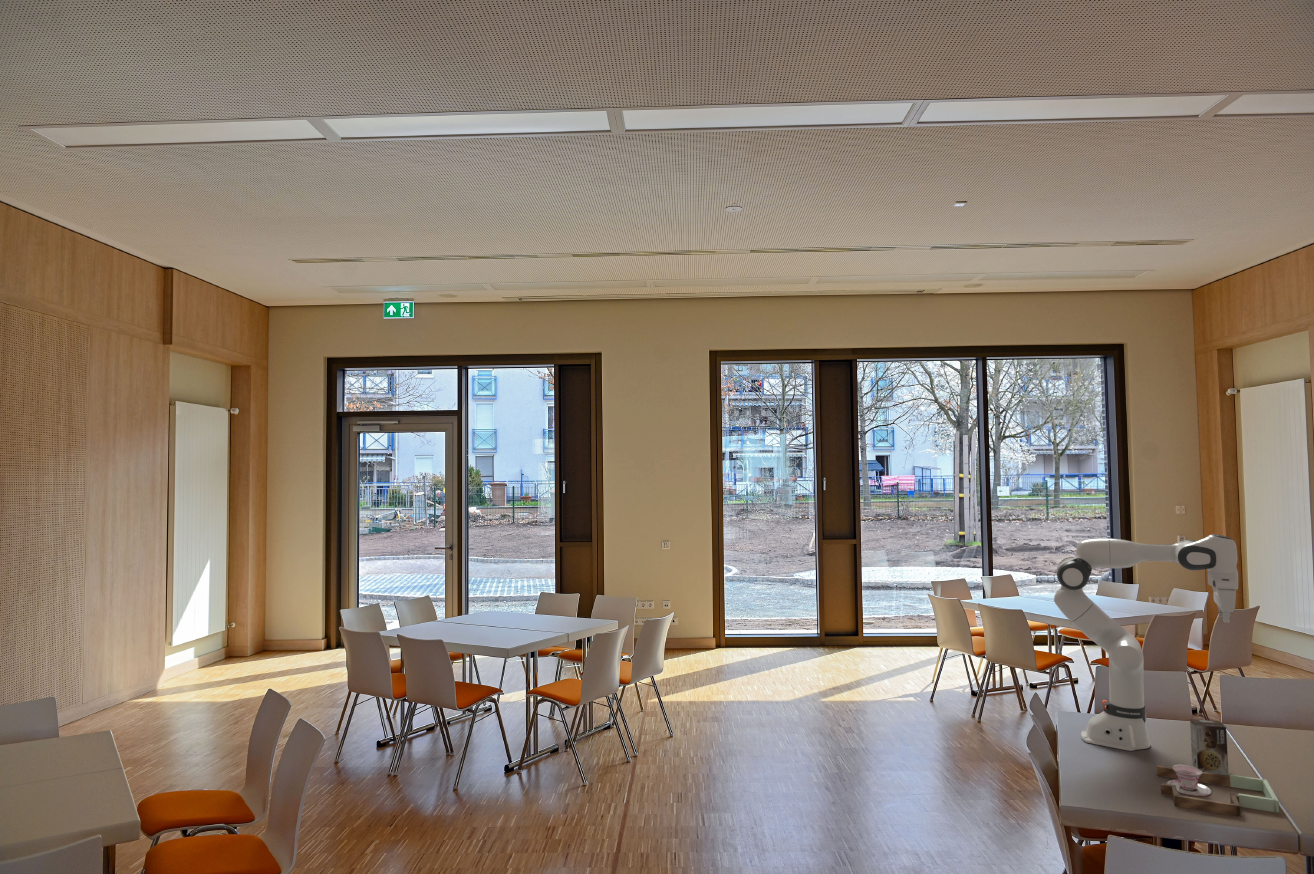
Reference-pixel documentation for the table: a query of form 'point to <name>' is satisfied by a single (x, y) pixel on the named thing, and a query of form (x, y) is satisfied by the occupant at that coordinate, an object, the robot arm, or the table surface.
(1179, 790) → the teacup
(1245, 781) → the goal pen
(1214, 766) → the coffee box
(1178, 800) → the channel
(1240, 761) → the table surface
